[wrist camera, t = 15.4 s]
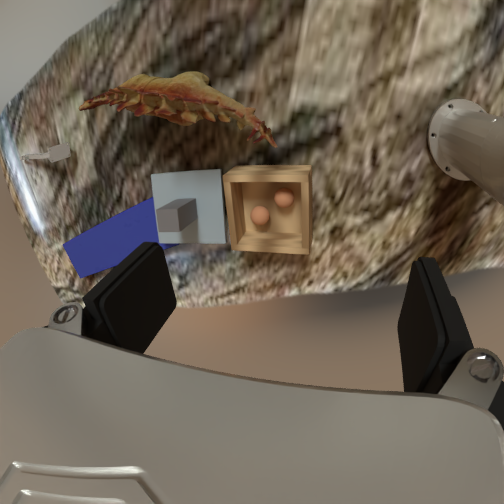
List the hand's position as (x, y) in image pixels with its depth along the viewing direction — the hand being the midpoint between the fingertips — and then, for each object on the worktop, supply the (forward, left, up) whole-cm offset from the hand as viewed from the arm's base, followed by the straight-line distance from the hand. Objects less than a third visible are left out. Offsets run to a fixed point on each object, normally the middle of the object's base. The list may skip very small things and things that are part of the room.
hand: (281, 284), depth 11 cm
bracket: (+61, -4, -37) cm, 71 cm away
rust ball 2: (+6, +9, -34) cm, 35 cm away
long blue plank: (+44, +19, -36) cm, 60 cm away
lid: (+22, +10, -34) cm, 42 cm away
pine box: (+8, +10, -36) cm, 38 cm away
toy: (+20, -8, -37) cm, 42 cm away
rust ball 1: (+10, +12, -34) cm, 37 cm away
